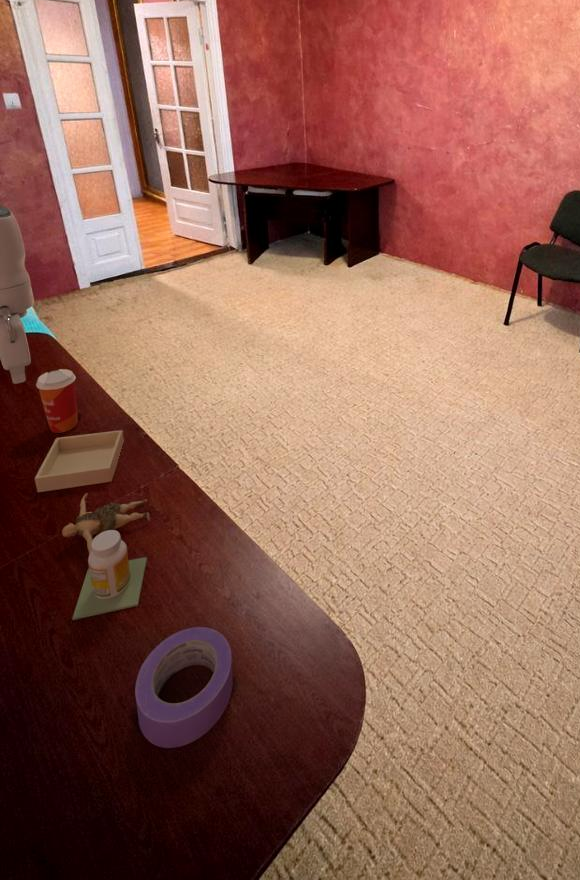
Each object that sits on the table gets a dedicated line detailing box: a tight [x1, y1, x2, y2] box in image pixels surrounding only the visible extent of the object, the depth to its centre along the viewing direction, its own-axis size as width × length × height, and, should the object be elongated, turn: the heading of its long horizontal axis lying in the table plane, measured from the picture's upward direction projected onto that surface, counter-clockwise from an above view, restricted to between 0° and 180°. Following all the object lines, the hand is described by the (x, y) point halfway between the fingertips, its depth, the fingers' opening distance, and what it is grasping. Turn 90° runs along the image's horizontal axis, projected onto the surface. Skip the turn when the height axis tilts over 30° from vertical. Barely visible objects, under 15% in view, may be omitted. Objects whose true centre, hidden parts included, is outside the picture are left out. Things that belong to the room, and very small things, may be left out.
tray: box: [34, 429, 125, 493], centre depth 105 cm, size 13×13×4 cm
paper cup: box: [35, 368, 79, 434], centre depth 115 cm, size 8×8×14 cm
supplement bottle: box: [87, 529, 130, 599], centre depth 78 cm, size 5×5×10 cm
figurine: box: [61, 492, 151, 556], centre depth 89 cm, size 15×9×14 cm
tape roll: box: [134, 626, 234, 749], centre depth 65 cm, size 12×12×5 cm
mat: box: [72, 556, 148, 621], centre depth 79 cm, size 9×9×1 cm
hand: (15, 370), depth 86 cm, fingers open, 8 cm apart
